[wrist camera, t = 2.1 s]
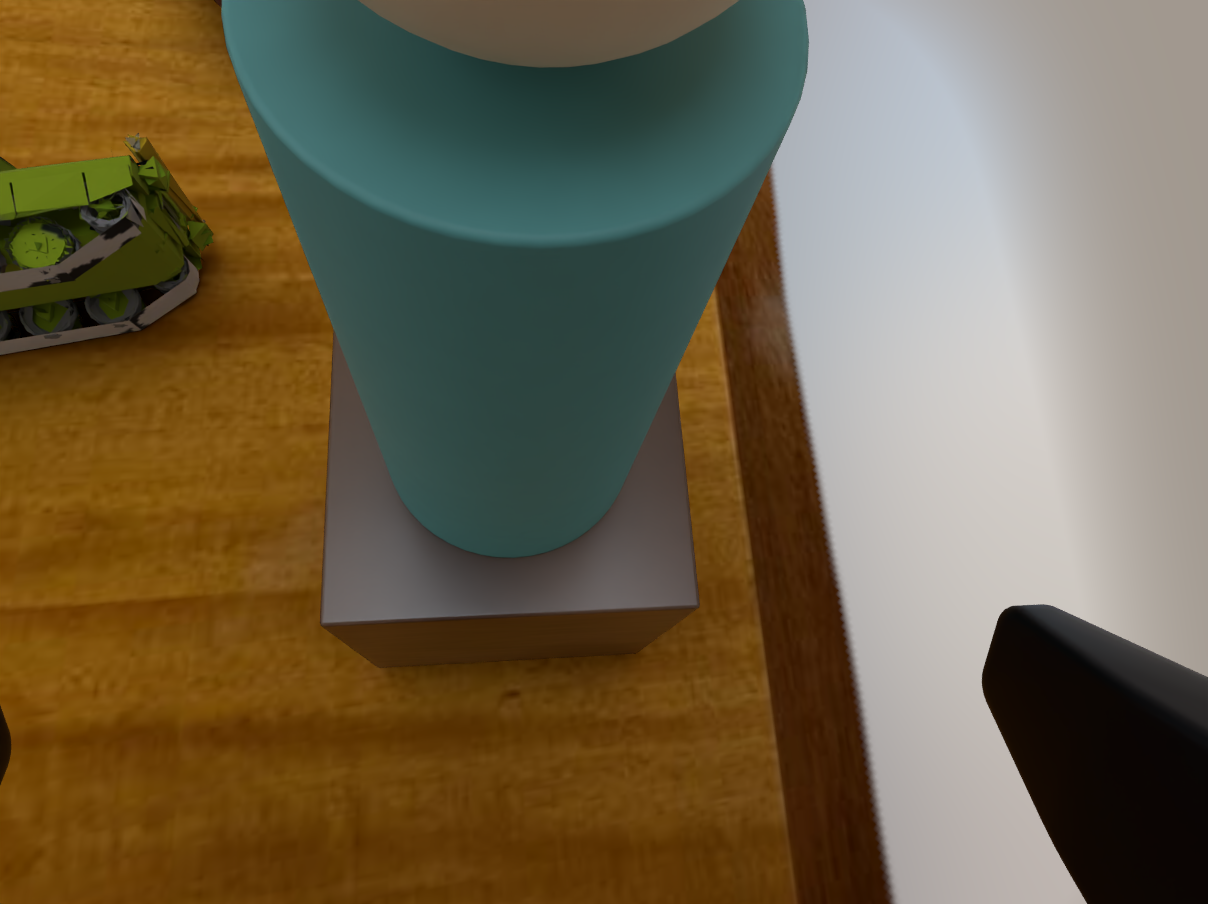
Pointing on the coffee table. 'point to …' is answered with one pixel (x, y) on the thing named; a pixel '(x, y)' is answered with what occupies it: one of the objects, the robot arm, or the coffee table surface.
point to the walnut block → (500, 562)
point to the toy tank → (94, 246)
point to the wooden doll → (516, 222)
